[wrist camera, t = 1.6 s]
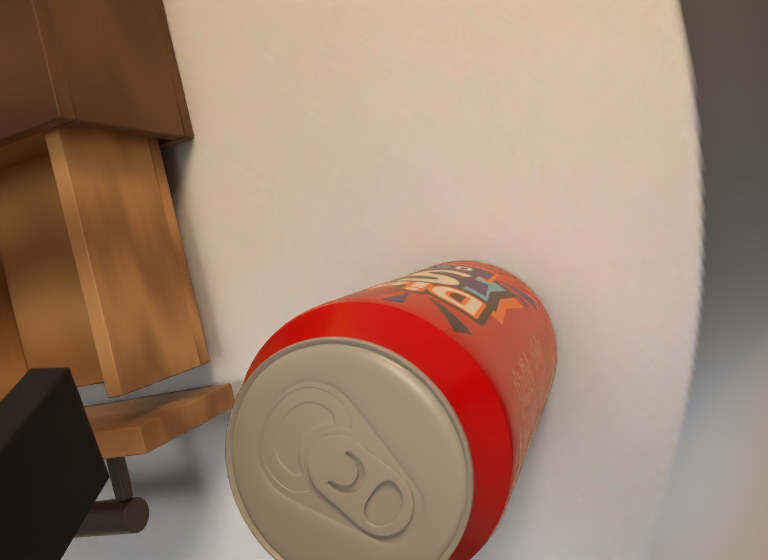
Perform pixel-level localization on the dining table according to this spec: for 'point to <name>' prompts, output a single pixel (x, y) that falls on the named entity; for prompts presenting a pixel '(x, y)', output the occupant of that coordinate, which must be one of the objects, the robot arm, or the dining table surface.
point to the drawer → (101, 294)
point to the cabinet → (89, 69)
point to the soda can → (392, 418)
